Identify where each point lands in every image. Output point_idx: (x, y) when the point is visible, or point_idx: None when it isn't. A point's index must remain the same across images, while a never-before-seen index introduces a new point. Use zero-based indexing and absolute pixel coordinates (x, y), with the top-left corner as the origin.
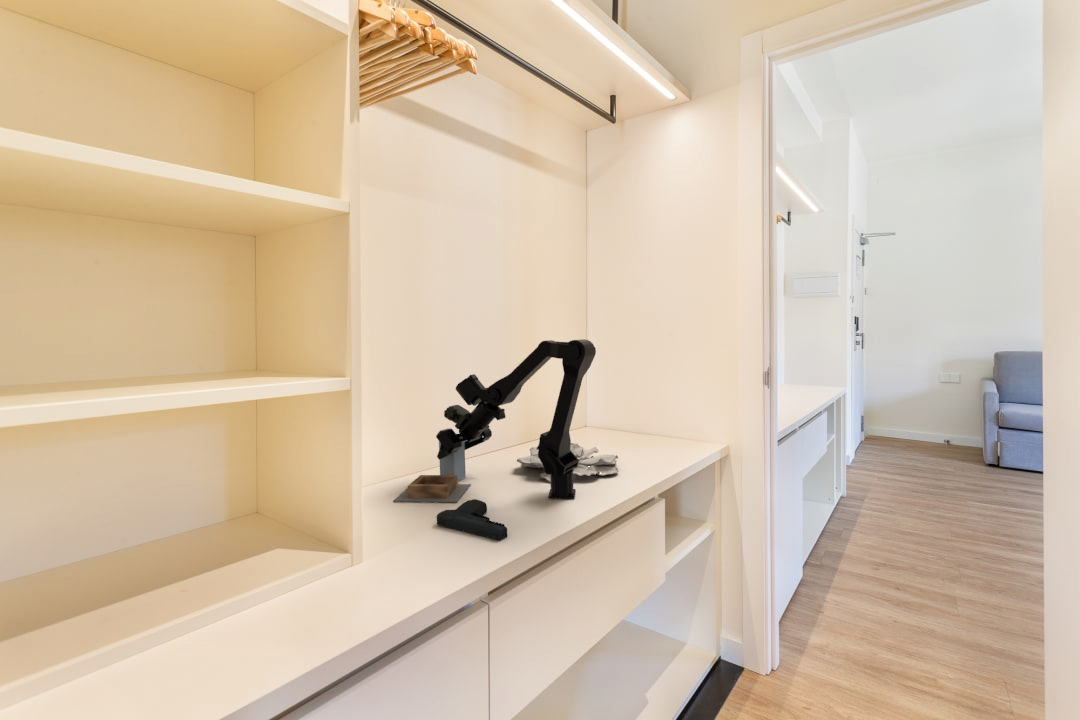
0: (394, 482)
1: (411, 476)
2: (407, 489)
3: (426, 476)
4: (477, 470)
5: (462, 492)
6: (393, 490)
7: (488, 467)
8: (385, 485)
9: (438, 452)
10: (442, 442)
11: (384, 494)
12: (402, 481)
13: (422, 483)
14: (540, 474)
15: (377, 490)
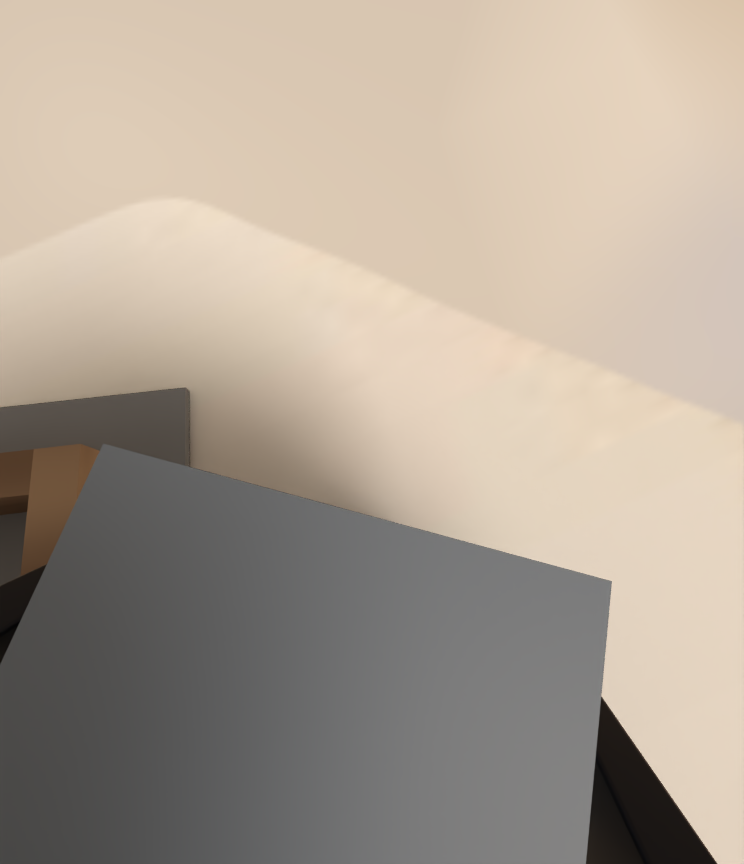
0: (238, 267)
1: (368, 302)
2: (58, 409)
3: (31, 511)
4: (620, 713)
5: None
6: (82, 329)
7: (737, 784)
8: (178, 248)
9: (39, 568)
10: None
11: (8, 316)
12: (261, 299)
13: (11, 505)
14: None
15: (85, 250)
